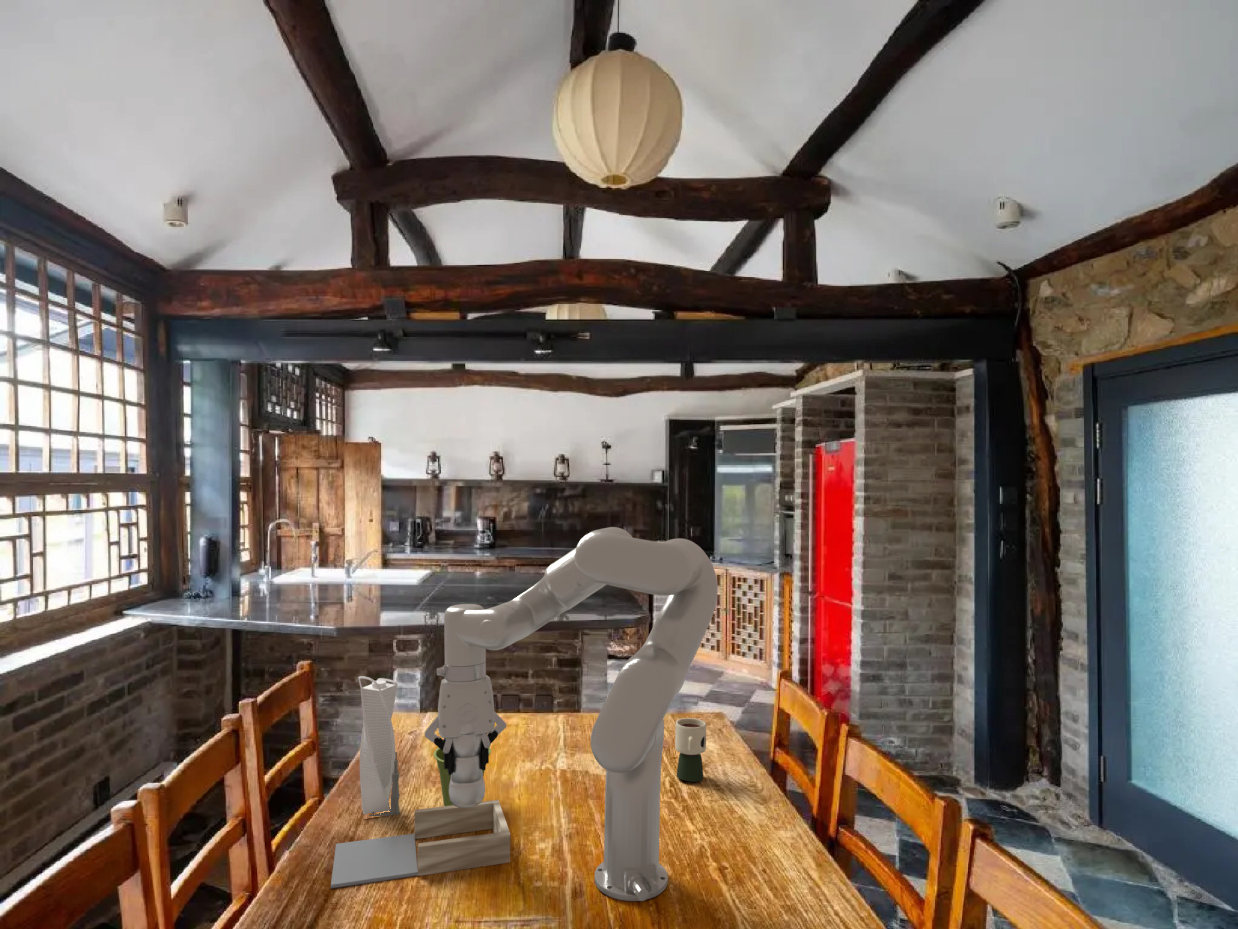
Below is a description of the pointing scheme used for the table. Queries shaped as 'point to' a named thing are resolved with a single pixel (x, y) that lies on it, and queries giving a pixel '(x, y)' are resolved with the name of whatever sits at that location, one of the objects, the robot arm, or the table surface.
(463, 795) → the plastic bottle
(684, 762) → the character mug
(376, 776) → the skyscraper
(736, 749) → the table surface
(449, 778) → the plant pot
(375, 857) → the tile
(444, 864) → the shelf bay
